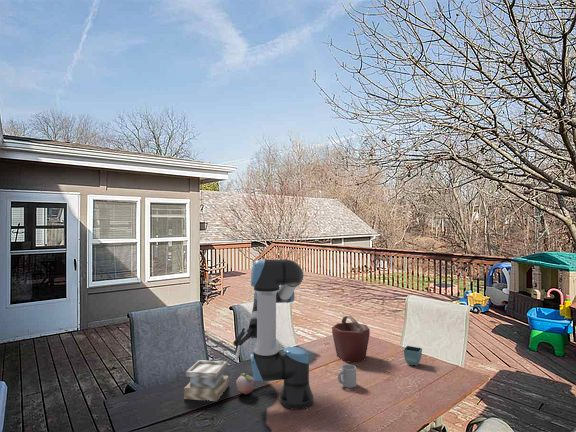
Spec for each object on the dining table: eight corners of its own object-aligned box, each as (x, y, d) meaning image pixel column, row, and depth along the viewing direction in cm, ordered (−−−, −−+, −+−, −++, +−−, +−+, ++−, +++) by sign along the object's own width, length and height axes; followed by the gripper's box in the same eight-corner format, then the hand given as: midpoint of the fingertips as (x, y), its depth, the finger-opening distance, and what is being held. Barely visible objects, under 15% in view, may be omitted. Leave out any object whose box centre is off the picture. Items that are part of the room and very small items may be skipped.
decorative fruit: (232, 394, 164) (232, 373, 164) (245, 389, 170) (245, 368, 170) (244, 401, 157) (244, 378, 158) (258, 394, 163) (258, 373, 164)
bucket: (372, 365, 200) (372, 321, 201) (334, 365, 200) (334, 321, 201) (364, 351, 224) (363, 312, 226) (330, 351, 224) (329, 312, 226)
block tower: (228, 386, 173) (228, 361, 174) (217, 401, 157) (217, 373, 158) (198, 384, 175) (198, 359, 176) (184, 398, 159) (184, 372, 160)
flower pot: (422, 363, 202) (422, 347, 203) (419, 368, 195) (419, 352, 195) (407, 360, 207) (406, 345, 207) (403, 365, 199) (403, 349, 200)
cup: (359, 386, 172) (358, 368, 172) (342, 390, 168) (341, 371, 168) (351, 381, 178) (350, 363, 179) (334, 384, 174) (334, 366, 175)
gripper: (280, 326, 189) (275, 363, 174) (236, 324, 193) (227, 361, 178) (278, 318, 185) (272, 356, 169) (233, 317, 188) (224, 354, 173)
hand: (249, 359), depth 173 cm, fingers open, 13 cm apart
